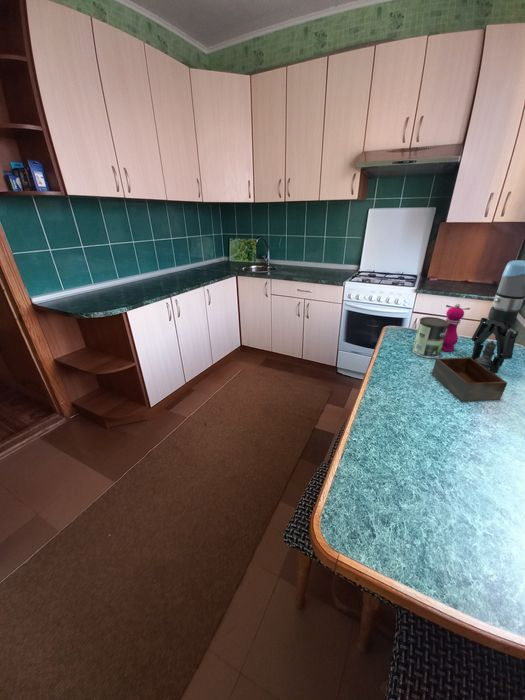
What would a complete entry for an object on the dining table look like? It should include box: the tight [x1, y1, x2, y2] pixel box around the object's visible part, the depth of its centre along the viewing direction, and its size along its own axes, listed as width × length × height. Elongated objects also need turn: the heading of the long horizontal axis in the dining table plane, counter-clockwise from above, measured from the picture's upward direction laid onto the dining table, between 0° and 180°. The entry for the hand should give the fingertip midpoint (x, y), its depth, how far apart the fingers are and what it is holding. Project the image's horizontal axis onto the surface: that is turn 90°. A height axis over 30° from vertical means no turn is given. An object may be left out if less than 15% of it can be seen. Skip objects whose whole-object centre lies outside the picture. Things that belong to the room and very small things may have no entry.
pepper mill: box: [441, 303, 465, 353], centre depth 120 cm, size 7×7×20 cm
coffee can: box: [412, 316, 449, 359], centre depth 118 cm, size 10×10×14 cm
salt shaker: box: [475, 340, 497, 370], centre depth 106 cm, size 6×6×12 cm
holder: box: [431, 356, 508, 403], centre depth 98 cm, size 13×17×7 cm
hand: (483, 366), depth 108 cm, fingers open, 9 cm apart
